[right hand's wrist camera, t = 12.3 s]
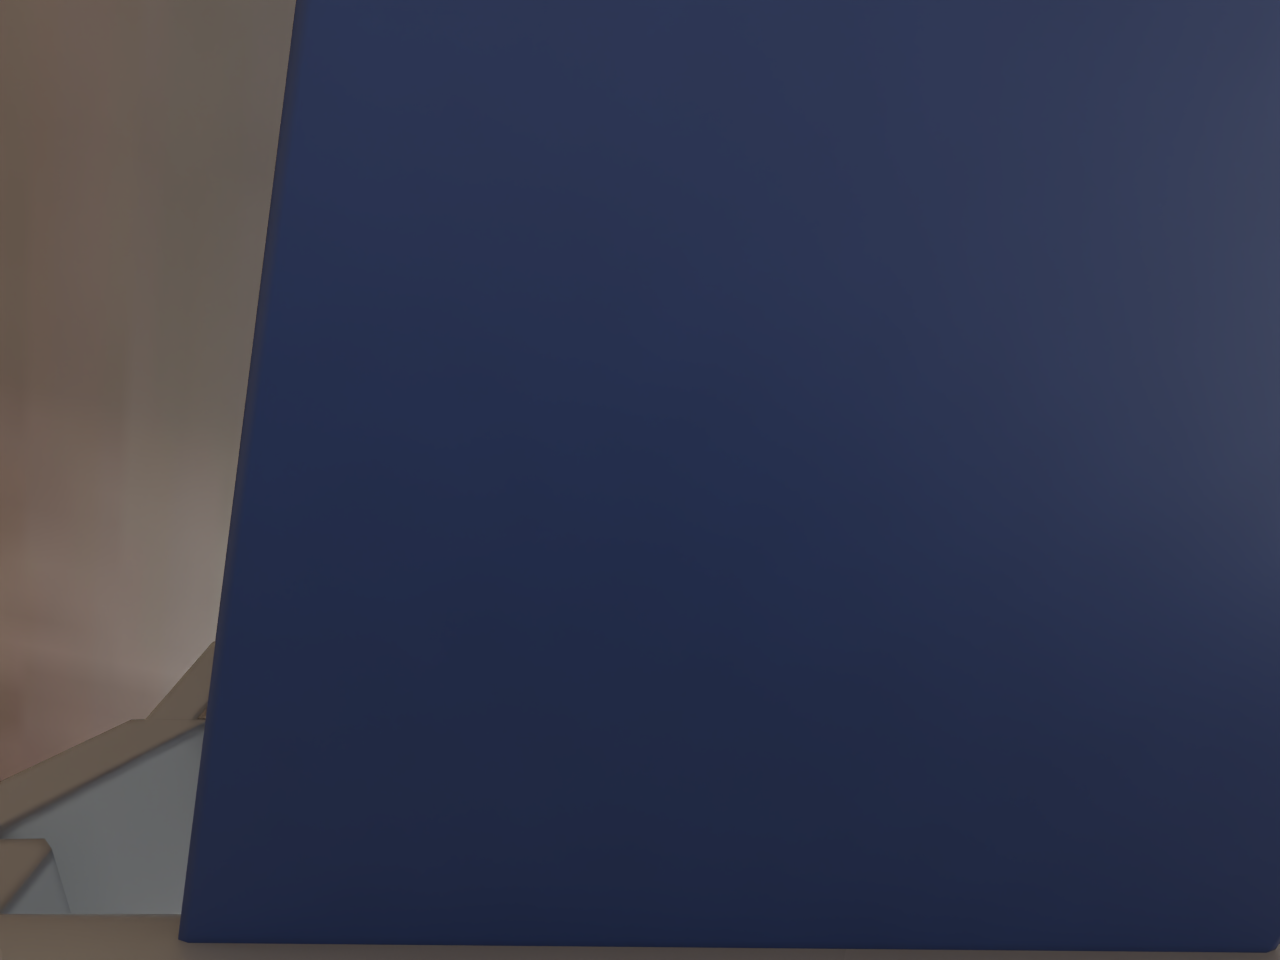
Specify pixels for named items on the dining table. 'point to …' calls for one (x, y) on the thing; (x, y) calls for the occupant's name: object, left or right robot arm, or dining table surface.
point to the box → (758, 482)
